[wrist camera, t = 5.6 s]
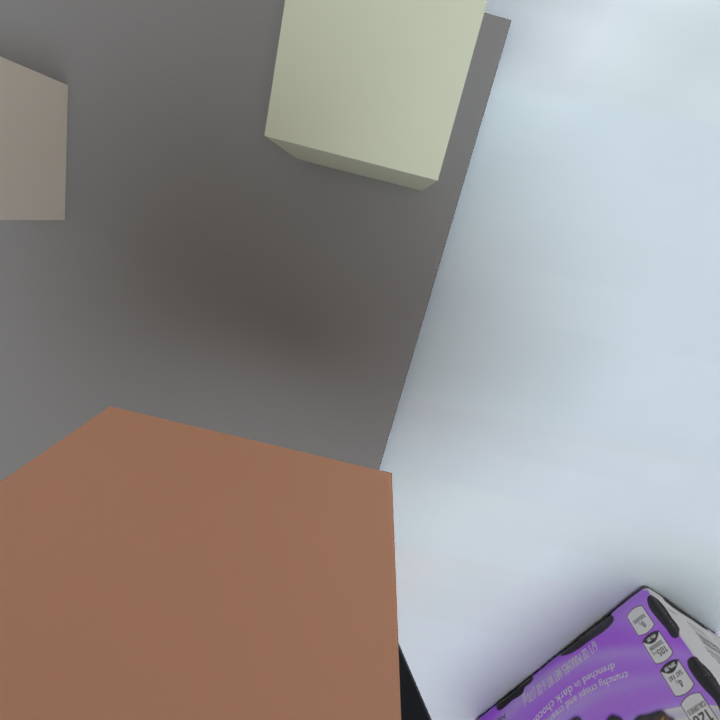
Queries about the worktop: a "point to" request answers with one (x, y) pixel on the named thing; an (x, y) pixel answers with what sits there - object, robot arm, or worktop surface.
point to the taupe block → (32, 144)
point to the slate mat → (210, 241)
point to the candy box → (627, 671)
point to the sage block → (372, 84)
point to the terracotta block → (195, 580)
